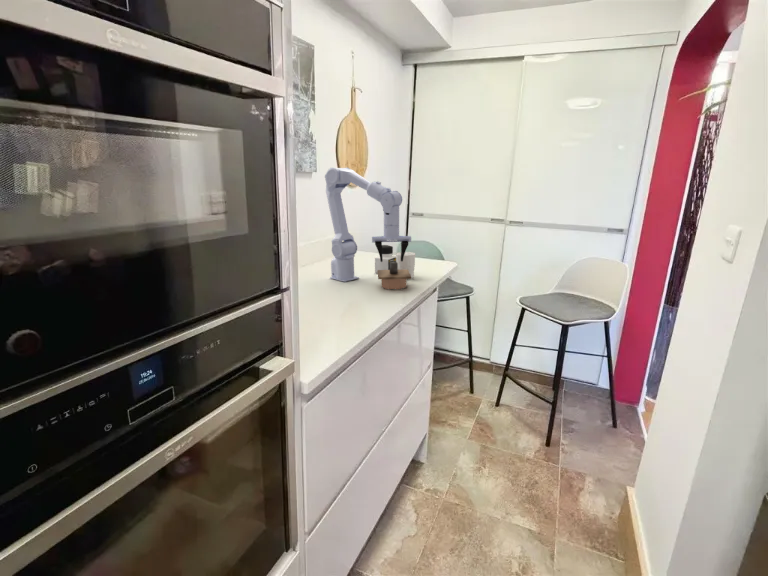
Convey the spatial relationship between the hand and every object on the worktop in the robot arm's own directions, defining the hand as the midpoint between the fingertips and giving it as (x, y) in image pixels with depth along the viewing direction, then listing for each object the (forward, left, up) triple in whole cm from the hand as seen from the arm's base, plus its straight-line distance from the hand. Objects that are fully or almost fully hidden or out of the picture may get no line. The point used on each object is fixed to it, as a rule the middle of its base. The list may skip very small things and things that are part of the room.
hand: (391, 261), depth 161 cm
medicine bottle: (-17, +15, -10) cm, 25 cm away
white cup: (-5, +14, -10) cm, 18 cm away
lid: (+1, 0, -5) cm, 5 cm away
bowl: (+1, 0, -10) cm, 10 cm away
